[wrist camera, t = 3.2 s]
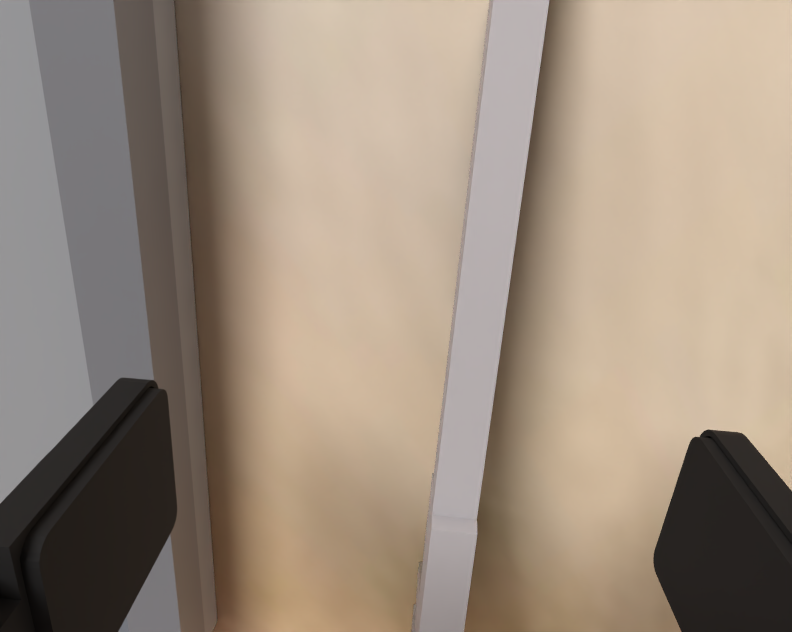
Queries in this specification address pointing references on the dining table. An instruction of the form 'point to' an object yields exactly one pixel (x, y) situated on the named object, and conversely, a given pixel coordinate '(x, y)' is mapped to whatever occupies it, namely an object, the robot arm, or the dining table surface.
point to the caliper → (479, 307)
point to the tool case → (101, 257)
